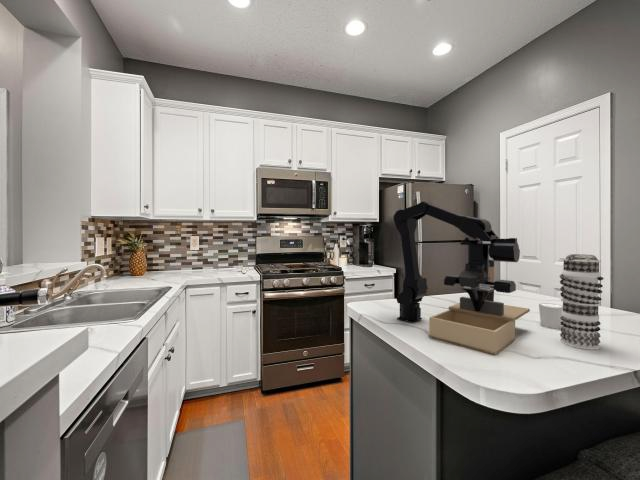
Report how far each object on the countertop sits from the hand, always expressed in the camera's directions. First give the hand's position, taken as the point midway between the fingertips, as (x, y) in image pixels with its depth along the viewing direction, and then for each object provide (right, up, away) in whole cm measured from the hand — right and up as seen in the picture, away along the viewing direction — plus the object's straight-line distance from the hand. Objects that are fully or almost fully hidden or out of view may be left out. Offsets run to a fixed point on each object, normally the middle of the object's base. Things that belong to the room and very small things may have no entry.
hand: (477, 311), depth 91 cm
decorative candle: (+25, -8, -7) cm, 27 cm away
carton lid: (+7, -1, +6) cm, 9 cm away
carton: (-3, -7, -3) cm, 8 cm away
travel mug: (+19, -7, +32) cm, 38 cm away
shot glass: (+29, -7, +9) cm, 31 cm away
